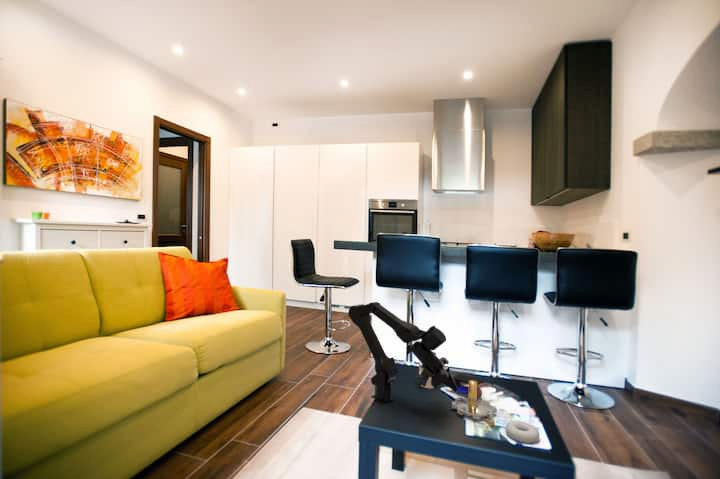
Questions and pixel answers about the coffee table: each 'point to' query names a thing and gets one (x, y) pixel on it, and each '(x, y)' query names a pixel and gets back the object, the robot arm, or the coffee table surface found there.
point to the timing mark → (490, 421)
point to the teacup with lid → (428, 384)
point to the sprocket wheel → (474, 404)
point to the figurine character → (465, 379)
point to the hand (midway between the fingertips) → (456, 390)
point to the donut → (522, 432)
